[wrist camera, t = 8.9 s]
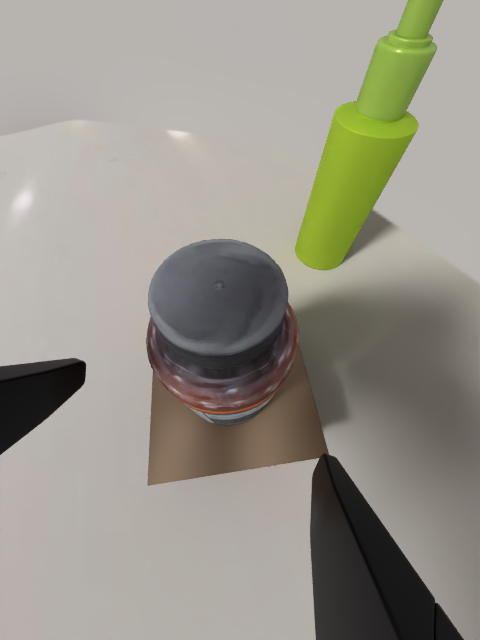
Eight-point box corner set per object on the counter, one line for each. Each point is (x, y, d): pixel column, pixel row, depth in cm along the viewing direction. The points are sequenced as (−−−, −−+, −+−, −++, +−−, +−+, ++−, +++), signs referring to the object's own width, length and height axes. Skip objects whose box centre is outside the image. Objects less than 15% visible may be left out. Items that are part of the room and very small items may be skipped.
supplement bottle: (190, 343, 18) (132, 213, 8) (267, 342, 18) (307, 212, 8) (183, 429, 15) (77, 395, 5) (275, 427, 15) (351, 389, 5)
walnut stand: (165, 477, 17) (147, 485, 13) (168, 340, 22) (155, 320, 19) (311, 454, 18) (329, 456, 14) (280, 327, 23) (288, 306, 20)
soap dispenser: (355, 273, 27) (584, -62, 9) (294, 267, 27) (403, -69, 9) (349, 237, 29) (517, -71, 12) (295, 232, 30) (379, -76, 12)
